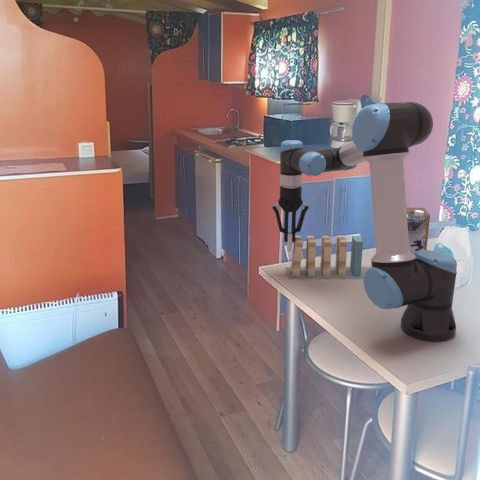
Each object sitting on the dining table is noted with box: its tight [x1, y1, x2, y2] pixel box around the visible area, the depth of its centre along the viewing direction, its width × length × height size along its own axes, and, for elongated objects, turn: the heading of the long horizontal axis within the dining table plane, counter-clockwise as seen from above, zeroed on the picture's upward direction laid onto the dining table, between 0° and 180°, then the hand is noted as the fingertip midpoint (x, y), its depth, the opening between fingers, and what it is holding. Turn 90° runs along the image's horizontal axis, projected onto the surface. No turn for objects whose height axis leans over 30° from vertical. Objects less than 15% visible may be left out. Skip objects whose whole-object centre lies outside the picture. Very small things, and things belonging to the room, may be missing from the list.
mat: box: [284, 266, 372, 280], centre depth 204 cm, size 12×32×1 cm, turn 90°
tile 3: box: [319, 235, 333, 276], centre depth 202 cm, size 7×2×13 cm, turn 0°
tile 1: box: [290, 235, 304, 277], centre depth 202 cm, size 7×2×13 cm, turn 0°
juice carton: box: [407, 210, 426, 254], centre depth 188 cm, size 9×10×27 cm
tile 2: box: [305, 235, 317, 277], centre depth 202 cm, size 7×2×13 cm, turn 0°
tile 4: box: [334, 235, 348, 276], centre depth 202 cm, size 7×2×13 cm, turn 0°
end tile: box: [349, 235, 364, 276], centre depth 202 cm, size 7×2×13 cm, turn 1°
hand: (289, 250), depth 201 cm, fingers closed
